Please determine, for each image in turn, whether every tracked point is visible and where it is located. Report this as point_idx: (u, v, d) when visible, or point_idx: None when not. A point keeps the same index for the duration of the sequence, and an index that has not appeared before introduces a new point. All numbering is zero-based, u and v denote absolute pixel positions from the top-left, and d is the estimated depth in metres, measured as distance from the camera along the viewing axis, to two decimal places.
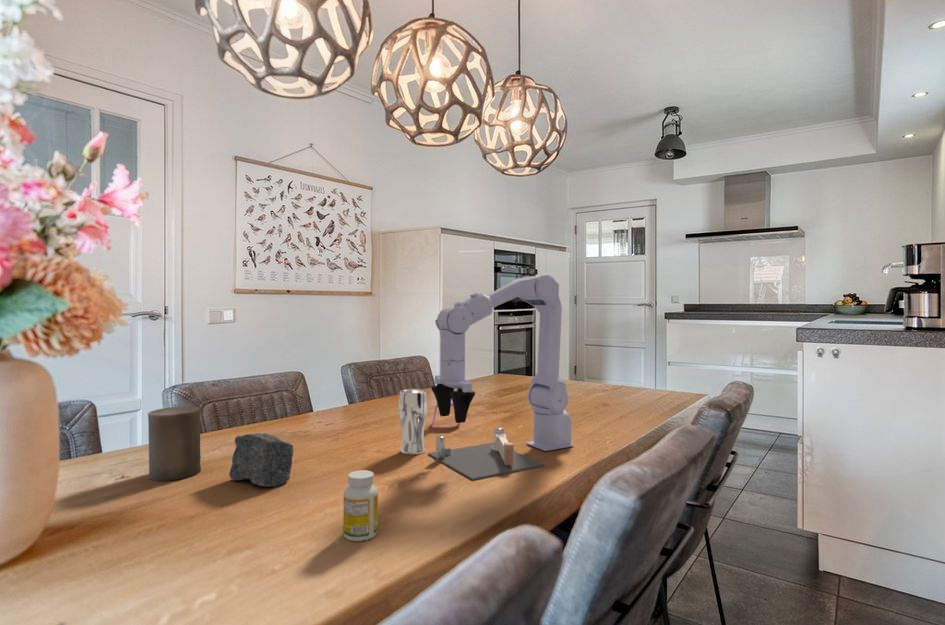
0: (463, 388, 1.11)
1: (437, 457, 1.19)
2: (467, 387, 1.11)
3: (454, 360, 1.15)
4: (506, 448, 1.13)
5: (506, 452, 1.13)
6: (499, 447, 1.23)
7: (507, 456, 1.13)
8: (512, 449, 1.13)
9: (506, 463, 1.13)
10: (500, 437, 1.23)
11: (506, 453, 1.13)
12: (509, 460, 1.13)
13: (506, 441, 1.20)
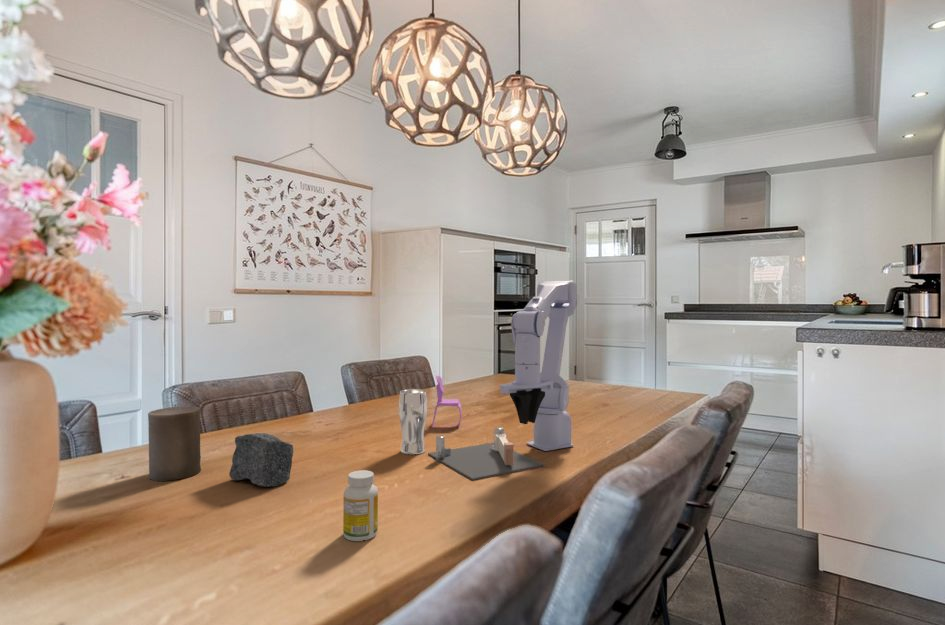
0: None
1: (437, 457, 1.19)
2: (501, 389, 1.14)
3: (537, 363, 1.15)
4: (506, 448, 1.13)
5: (506, 452, 1.13)
6: (499, 447, 1.23)
7: (507, 456, 1.13)
8: (512, 449, 1.13)
9: (506, 463, 1.13)
10: (500, 437, 1.23)
11: (506, 453, 1.13)
12: (509, 460, 1.13)
13: (506, 441, 1.20)
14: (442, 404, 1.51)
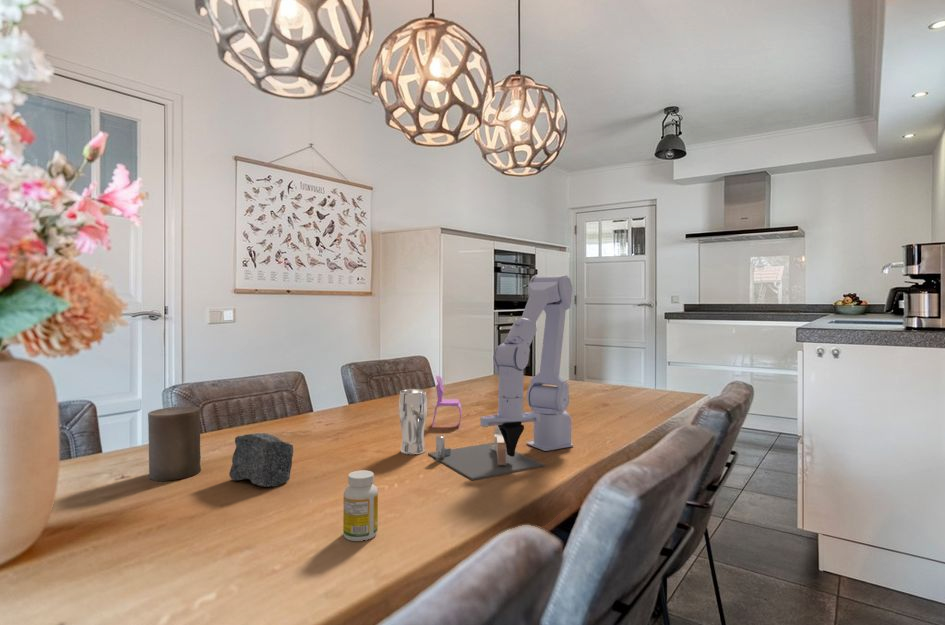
0: None
1: (437, 457, 1.19)
2: (481, 421, 1.14)
3: (518, 397, 1.15)
4: (498, 448, 1.13)
5: (498, 452, 1.13)
6: None
7: (499, 456, 1.13)
8: (504, 449, 1.13)
9: (498, 463, 1.13)
10: (498, 437, 1.23)
11: (498, 453, 1.13)
12: (501, 460, 1.13)
13: (502, 441, 1.20)
14: (442, 404, 1.51)
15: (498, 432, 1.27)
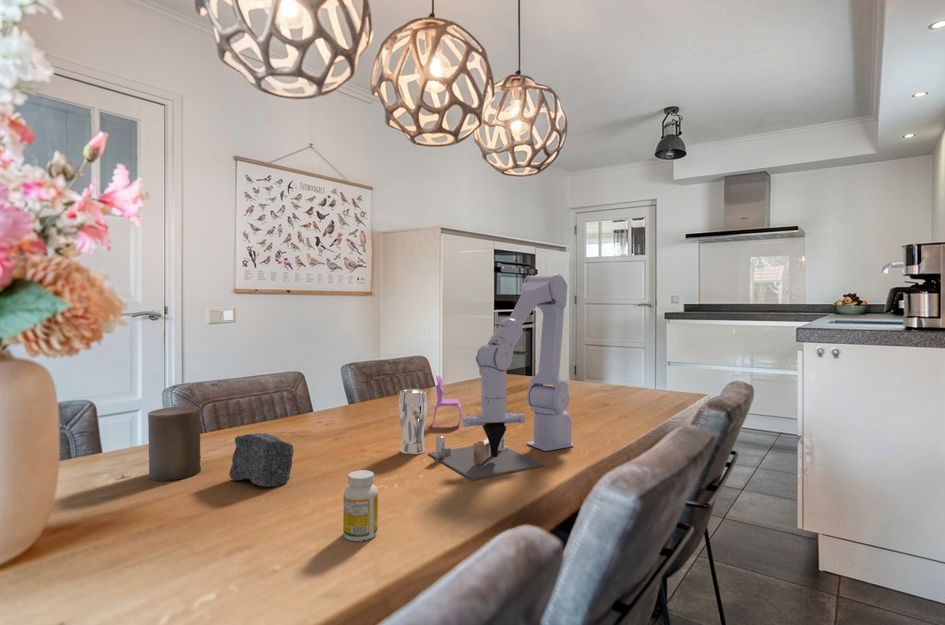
0: None
1: (437, 457, 1.19)
2: (462, 421, 1.15)
3: (499, 397, 1.15)
4: (474, 446, 1.15)
5: (474, 450, 1.15)
6: None
7: (475, 454, 1.14)
8: (480, 448, 1.14)
9: (474, 461, 1.15)
10: None
11: (474, 451, 1.15)
12: (477, 458, 1.14)
13: (488, 440, 1.20)
14: (442, 404, 1.51)
15: None
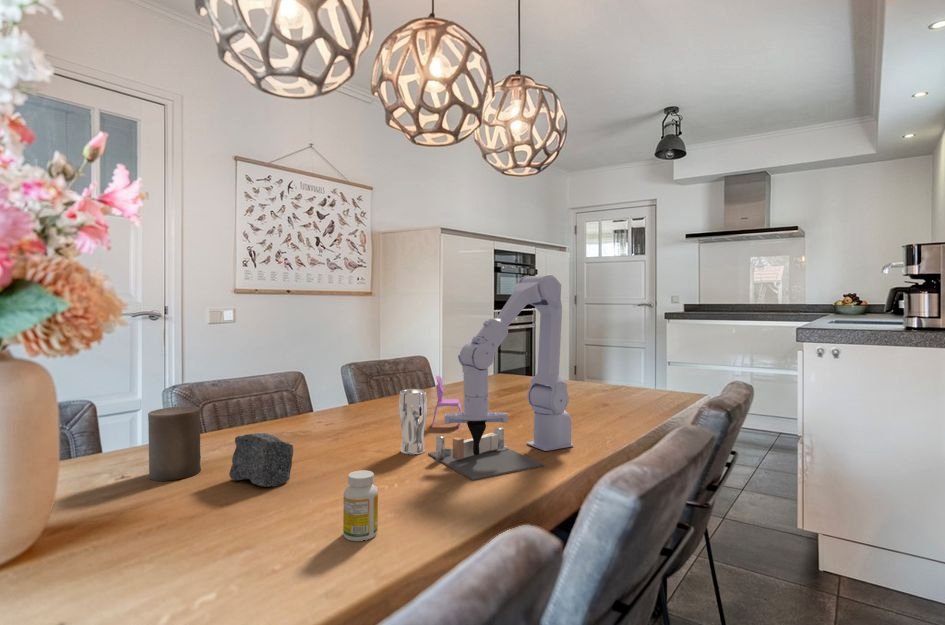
0: None
1: (437, 457, 1.19)
2: None
3: (479, 396, 1.16)
4: (453, 442, 1.18)
5: (453, 446, 1.18)
6: None
7: (453, 450, 1.18)
8: (457, 444, 1.17)
9: (453, 456, 1.18)
10: (484, 435, 1.25)
11: (453, 447, 1.18)
12: (455, 454, 1.18)
13: None
14: (442, 404, 1.51)
15: (498, 432, 1.27)
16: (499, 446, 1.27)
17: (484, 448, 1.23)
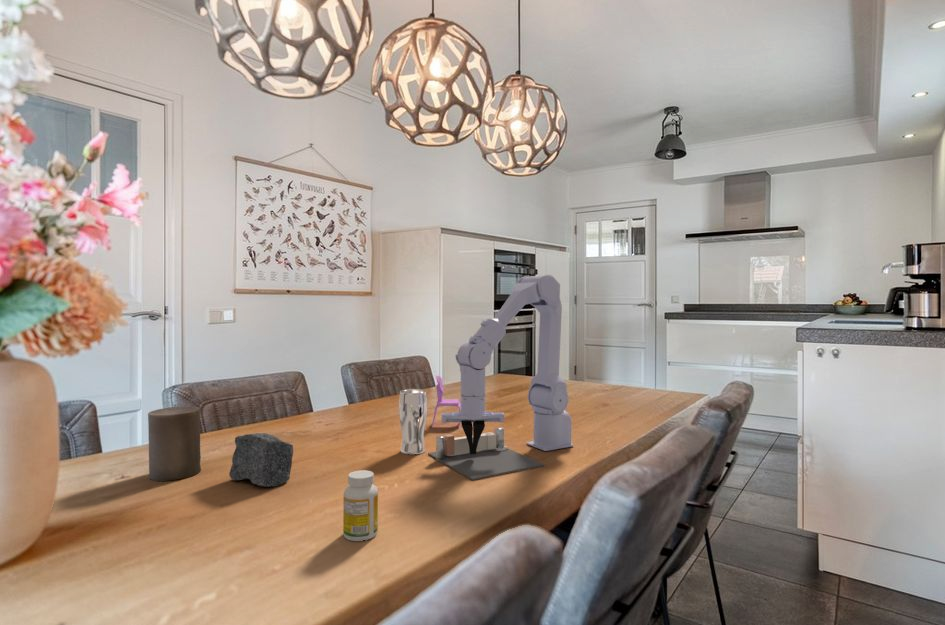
0: None
1: (437, 457, 1.19)
2: None
3: (475, 396, 1.16)
4: None
5: None
6: None
7: None
8: (447, 441, 1.20)
9: None
10: (481, 434, 1.26)
11: None
12: (445, 450, 1.21)
13: None
14: (442, 404, 1.51)
15: (498, 432, 1.27)
16: (499, 446, 1.27)
17: (480, 447, 1.25)
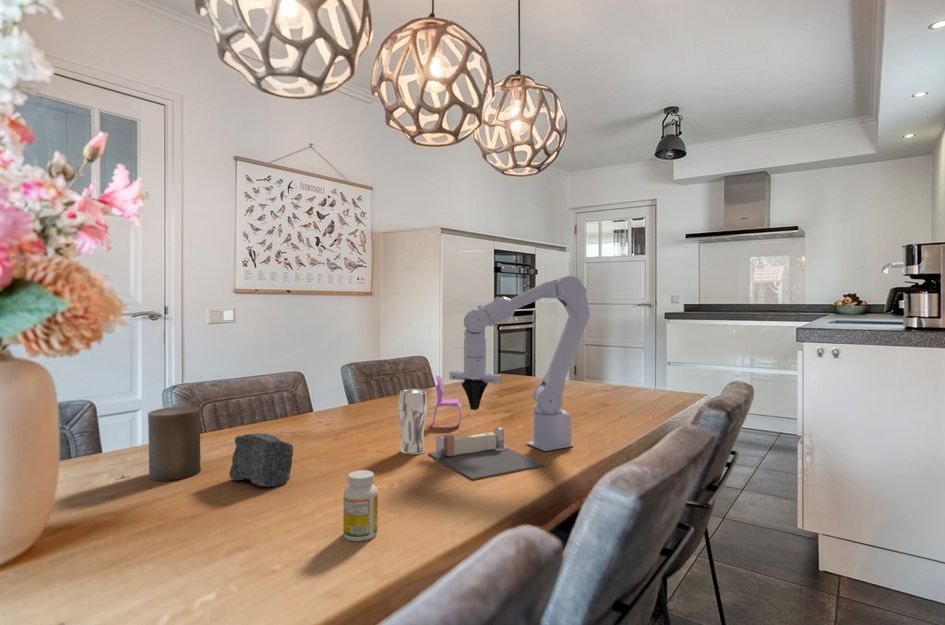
0: None
1: (437, 457, 1.19)
2: None
3: (471, 356, 1.30)
4: None
5: None
6: None
7: None
8: (447, 441, 1.20)
9: None
10: (481, 434, 1.26)
11: None
12: (445, 450, 1.21)
13: (470, 437, 1.24)
14: (442, 404, 1.51)
15: (498, 432, 1.27)
16: (499, 446, 1.27)
17: (480, 447, 1.25)
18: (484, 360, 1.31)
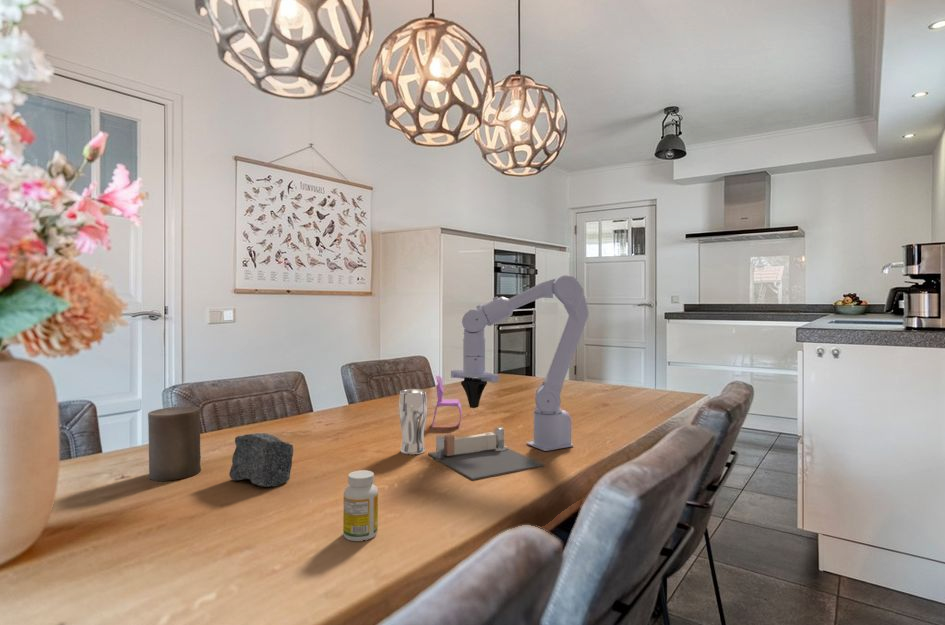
0: None
1: (437, 457, 1.19)
2: None
3: (469, 355, 1.32)
4: None
5: None
6: None
7: None
8: (447, 441, 1.20)
9: None
10: (481, 434, 1.26)
11: None
12: (445, 450, 1.21)
13: (470, 437, 1.24)
14: (442, 404, 1.51)
15: (498, 432, 1.27)
16: (499, 446, 1.27)
17: (480, 447, 1.25)
18: (482, 359, 1.33)
